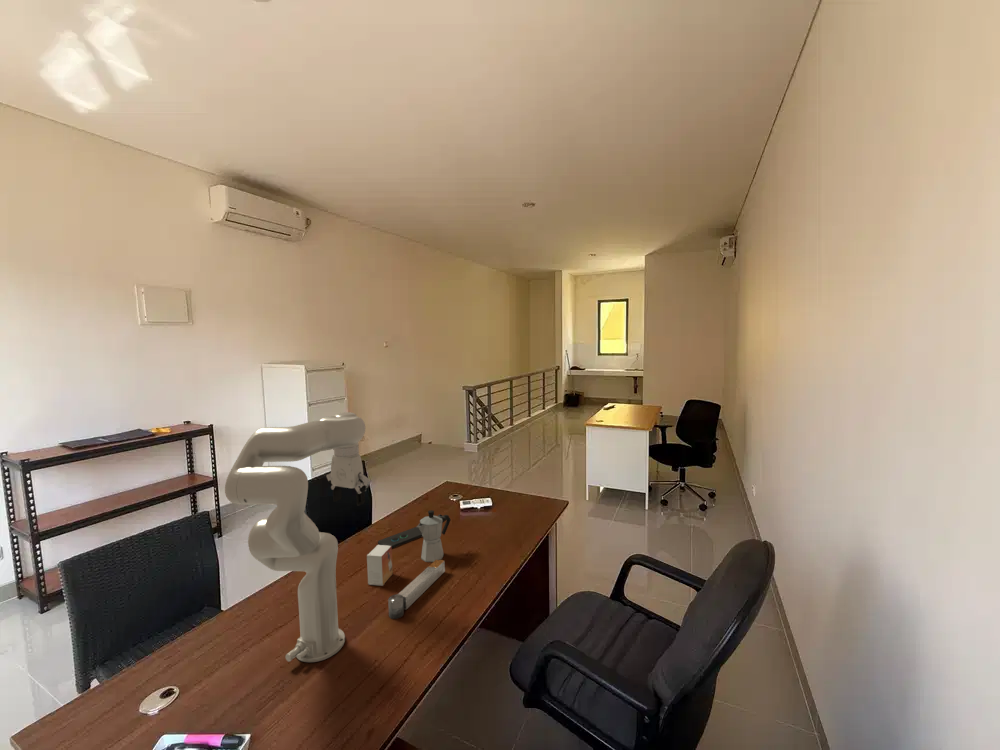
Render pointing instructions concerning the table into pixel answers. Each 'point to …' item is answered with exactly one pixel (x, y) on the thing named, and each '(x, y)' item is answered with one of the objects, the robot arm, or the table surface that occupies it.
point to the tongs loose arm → (423, 584)
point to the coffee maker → (432, 536)
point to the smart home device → (401, 537)
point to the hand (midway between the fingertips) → (349, 502)
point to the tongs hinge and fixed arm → (397, 600)
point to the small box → (379, 565)
